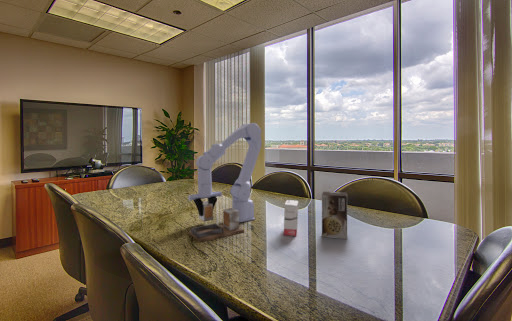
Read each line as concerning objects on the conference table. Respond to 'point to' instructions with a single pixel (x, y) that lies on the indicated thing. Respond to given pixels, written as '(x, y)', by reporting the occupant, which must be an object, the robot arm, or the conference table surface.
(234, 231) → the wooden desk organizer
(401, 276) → the conference table surface
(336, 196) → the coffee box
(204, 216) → the grey rectangular block
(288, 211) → the ink box
